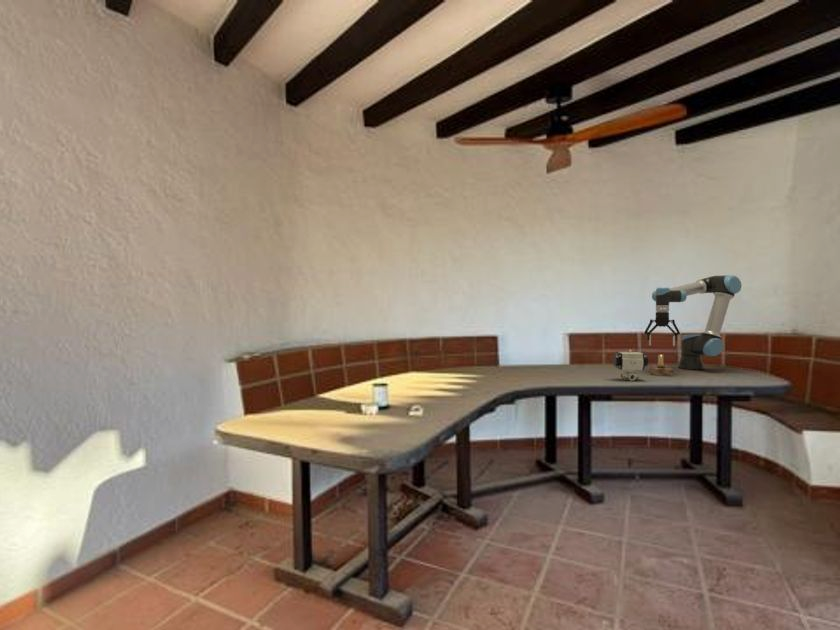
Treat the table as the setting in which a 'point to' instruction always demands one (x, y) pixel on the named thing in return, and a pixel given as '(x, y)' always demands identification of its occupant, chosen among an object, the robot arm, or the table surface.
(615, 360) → the ball valve
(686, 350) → the robot arm
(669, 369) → the hole block
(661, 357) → the brass peg
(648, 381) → the table surface
